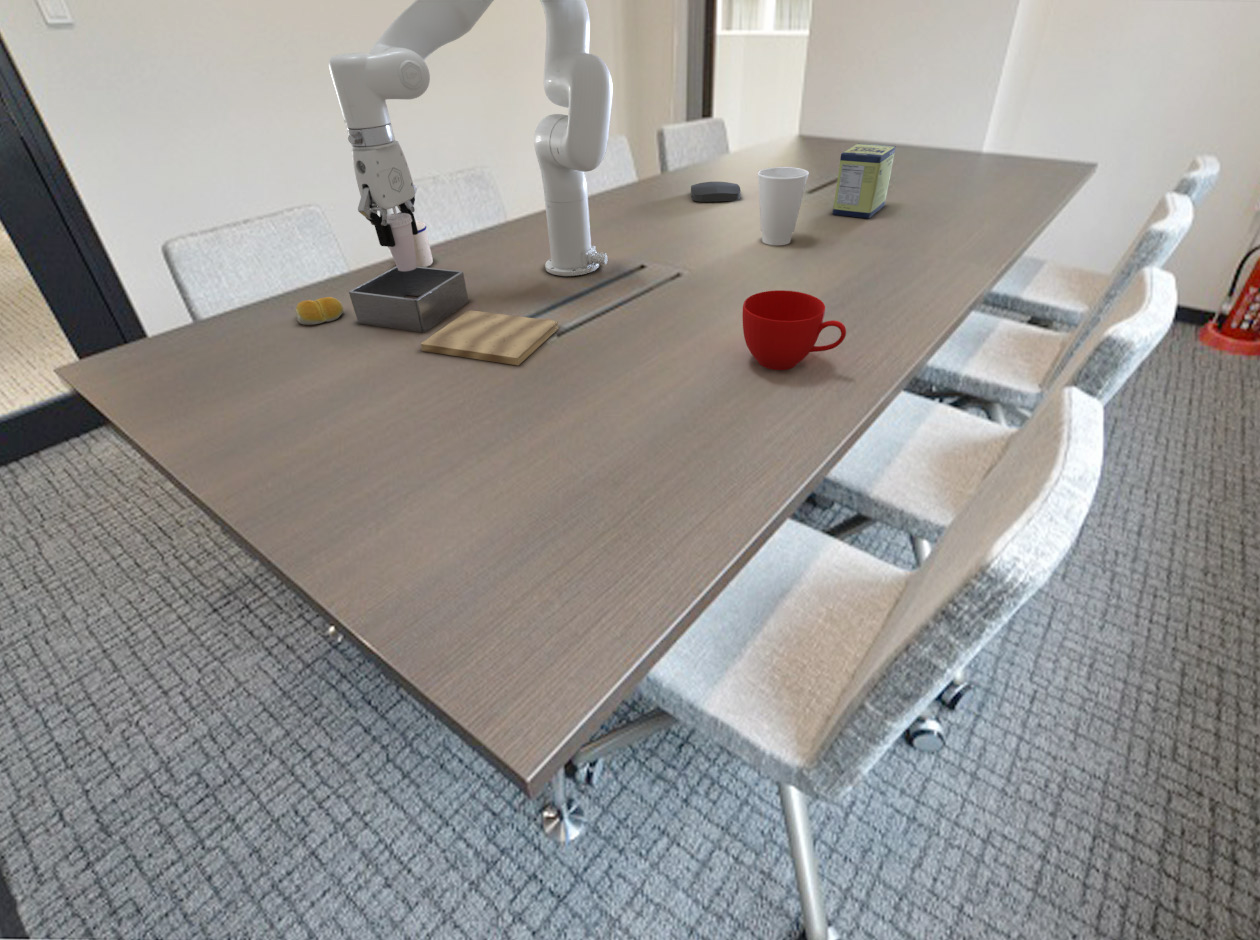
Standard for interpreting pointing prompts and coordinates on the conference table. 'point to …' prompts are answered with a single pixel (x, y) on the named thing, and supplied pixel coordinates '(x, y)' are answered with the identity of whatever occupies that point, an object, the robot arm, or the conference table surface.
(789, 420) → the conference table surface
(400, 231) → the smoothie
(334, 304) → the bread roll
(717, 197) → the media streaming box
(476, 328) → the maple board
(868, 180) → the protein box
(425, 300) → the box
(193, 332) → the conference table surface
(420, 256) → the teacup with lid
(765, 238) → the cup
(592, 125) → the robot arm
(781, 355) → the ceramic cup
